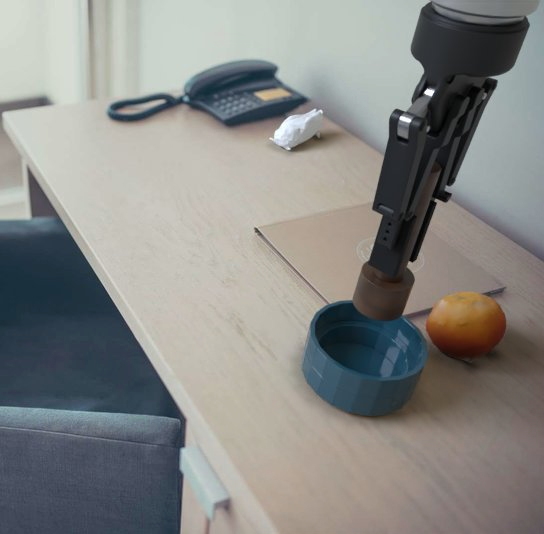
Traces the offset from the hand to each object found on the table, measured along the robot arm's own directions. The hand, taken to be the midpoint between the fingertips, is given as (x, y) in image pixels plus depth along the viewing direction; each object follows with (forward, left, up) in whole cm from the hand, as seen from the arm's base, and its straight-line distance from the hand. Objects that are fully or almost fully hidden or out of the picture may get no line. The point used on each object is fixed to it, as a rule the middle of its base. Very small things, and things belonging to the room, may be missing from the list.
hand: (392, 261), depth 62 cm
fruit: (-5, -13, -16) cm, 22 cm away
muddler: (0, 0, -6) cm, 6 cm away
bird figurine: (+39, -40, -16) cm, 58 cm away
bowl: (0, 0, -16) cm, 16 cm away
